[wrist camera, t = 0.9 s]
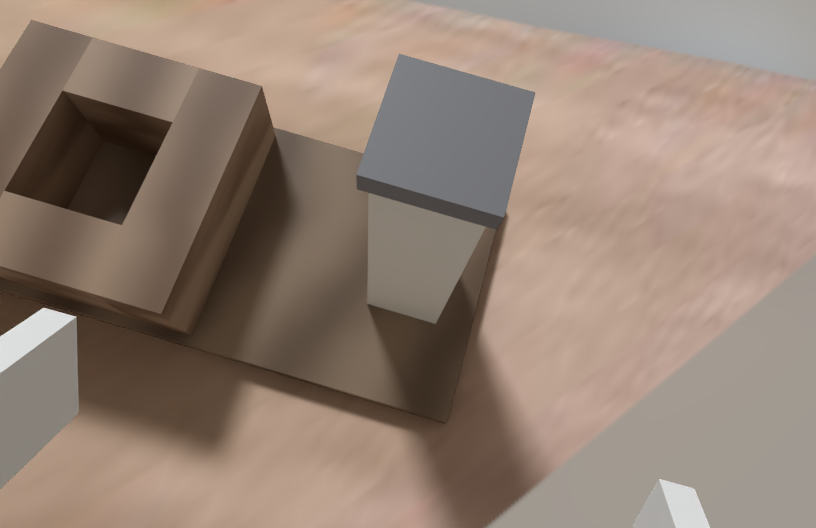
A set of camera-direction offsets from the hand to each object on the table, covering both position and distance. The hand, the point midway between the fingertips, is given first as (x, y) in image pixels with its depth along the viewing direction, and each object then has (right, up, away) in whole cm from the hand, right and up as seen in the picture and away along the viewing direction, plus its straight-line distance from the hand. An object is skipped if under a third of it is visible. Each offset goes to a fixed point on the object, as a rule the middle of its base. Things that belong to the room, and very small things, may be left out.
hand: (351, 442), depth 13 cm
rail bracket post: (+1, +3, +20) cm, 21 cm away
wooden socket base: (-9, +6, +21) cm, 24 cm away
